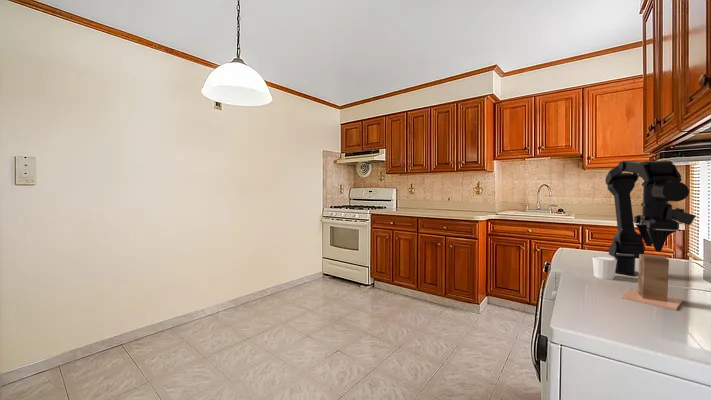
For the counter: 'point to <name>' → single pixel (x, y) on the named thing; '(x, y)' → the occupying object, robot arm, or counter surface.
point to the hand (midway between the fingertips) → (653, 248)
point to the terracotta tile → (670, 304)
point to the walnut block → (653, 277)
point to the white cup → (604, 267)
